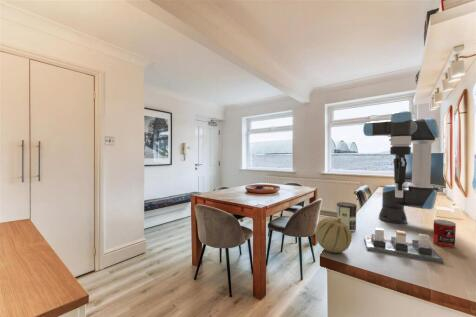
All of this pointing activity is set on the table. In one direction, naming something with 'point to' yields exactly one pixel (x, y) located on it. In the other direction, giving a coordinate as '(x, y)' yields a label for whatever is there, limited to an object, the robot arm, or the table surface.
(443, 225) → the canned food
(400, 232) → the handle
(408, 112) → the robot arm
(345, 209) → the coffee can
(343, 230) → the cantaloupe
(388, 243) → the panel
